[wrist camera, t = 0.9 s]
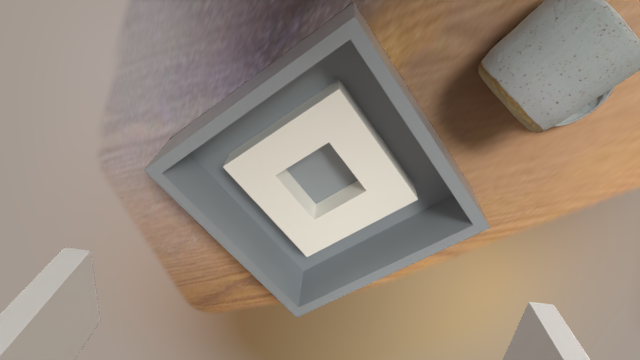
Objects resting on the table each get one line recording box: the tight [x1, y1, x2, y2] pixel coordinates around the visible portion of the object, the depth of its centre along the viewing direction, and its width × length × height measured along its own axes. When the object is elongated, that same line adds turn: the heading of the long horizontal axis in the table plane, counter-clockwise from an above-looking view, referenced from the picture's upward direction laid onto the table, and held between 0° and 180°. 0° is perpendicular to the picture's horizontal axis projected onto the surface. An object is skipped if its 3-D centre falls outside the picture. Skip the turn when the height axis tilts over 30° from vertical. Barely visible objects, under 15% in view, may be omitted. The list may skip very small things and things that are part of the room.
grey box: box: [144, 2, 490, 317], centre depth 37 cm, size 20×20×6 cm
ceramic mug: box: [478, 0, 640, 132], centre depth 30 cm, size 11×8×8 cm
